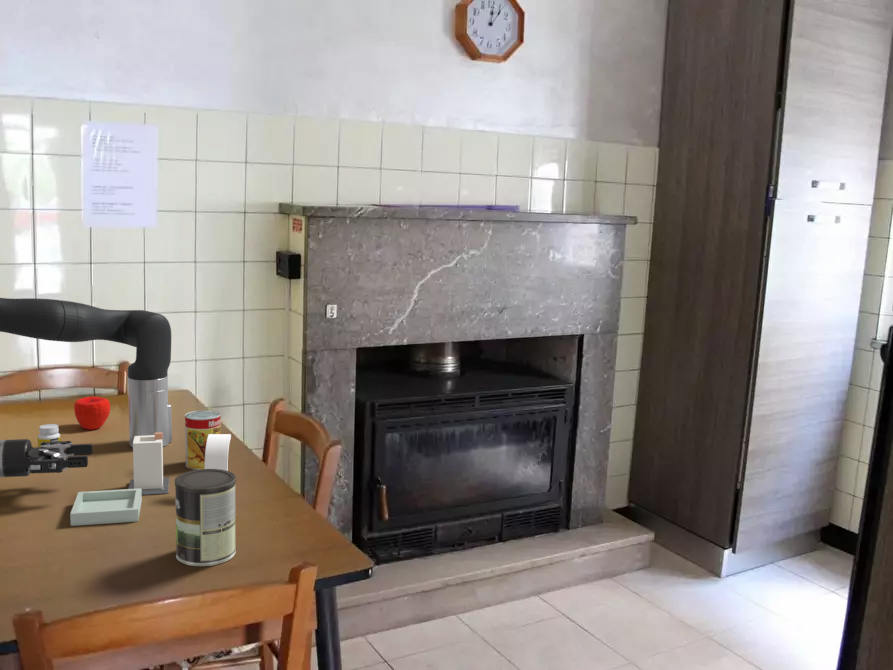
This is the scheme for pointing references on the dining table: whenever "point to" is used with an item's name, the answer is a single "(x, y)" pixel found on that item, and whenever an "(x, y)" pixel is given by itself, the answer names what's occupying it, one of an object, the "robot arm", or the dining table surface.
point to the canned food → (199, 435)
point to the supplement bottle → (48, 433)
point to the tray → (106, 507)
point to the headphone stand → (217, 451)
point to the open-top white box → (148, 461)
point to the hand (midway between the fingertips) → (90, 455)
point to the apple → (92, 412)
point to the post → (153, 491)
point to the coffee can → (205, 517)
